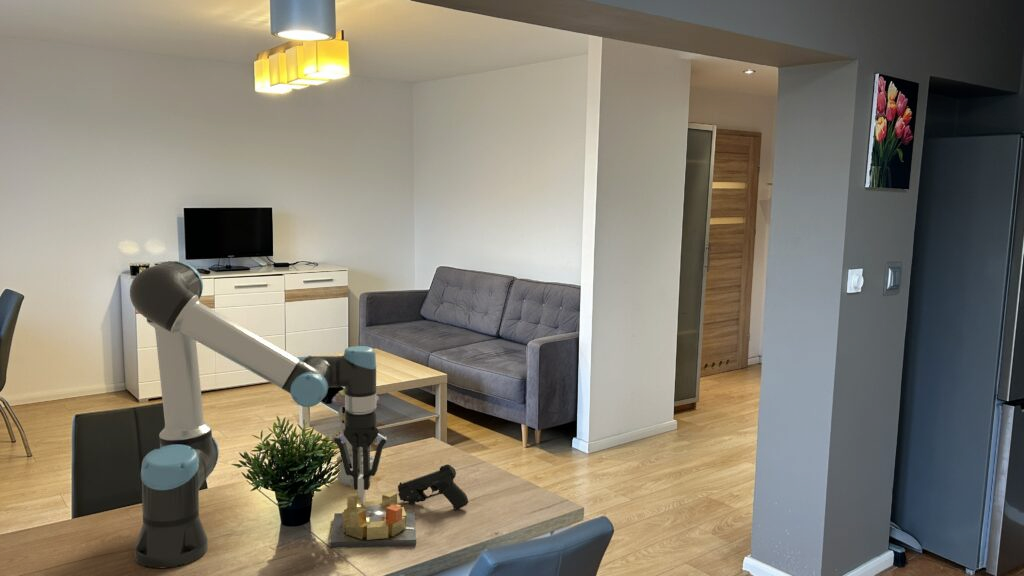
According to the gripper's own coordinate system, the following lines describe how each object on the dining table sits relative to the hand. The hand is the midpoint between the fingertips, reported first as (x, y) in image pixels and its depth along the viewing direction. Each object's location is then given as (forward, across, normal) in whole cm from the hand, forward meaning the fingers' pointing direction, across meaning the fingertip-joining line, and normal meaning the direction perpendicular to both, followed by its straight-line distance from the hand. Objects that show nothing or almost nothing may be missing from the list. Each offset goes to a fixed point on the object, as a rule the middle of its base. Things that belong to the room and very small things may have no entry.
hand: (361, 501), depth 195 cm
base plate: (+6, -4, +4) cm, 8 cm away
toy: (+6, +8, -27) cm, 29 cm away
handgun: (+7, -16, -13) cm, 22 cm away
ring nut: (+4, -4, +4) cm, 7 cm away
